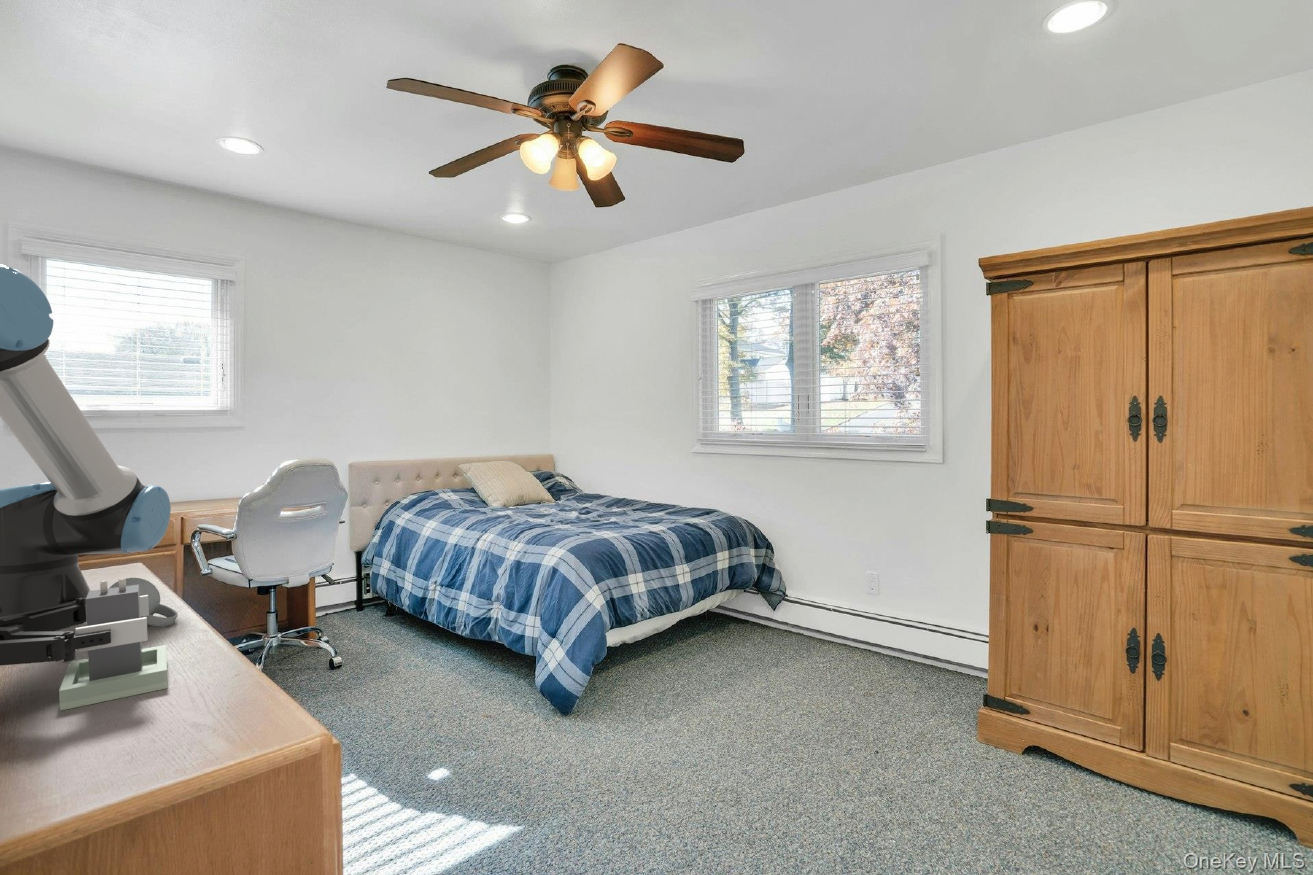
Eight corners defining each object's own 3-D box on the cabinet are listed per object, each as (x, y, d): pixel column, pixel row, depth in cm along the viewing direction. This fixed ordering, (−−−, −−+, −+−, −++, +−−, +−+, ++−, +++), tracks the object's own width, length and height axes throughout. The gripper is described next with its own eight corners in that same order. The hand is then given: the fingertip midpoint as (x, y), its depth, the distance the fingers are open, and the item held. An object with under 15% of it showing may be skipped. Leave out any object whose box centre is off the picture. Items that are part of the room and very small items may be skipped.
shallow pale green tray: (71, 679, 86) (70, 661, 86) (166, 661, 92) (166, 644, 92) (60, 710, 77) (59, 690, 77) (167, 688, 83) (166, 669, 83)
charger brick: (93, 676, 85) (88, 579, 85) (142, 667, 88) (138, 573, 88) (89, 688, 81) (85, 587, 81) (141, 678, 84) (137, 580, 84)
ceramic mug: (87, 640, 103) (86, 590, 102) (105, 625, 110) (104, 579, 110) (171, 631, 107) (170, 583, 107) (182, 617, 114) (181, 573, 114)
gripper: (-63, 656, 84) (150, 622, 96) (-132, 727, 64) (147, 672, 76) (-66, 597, 83) (147, 570, 96) (-136, 649, 63) (144, 607, 76)
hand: (148, 615), depth 86 cm, fingers open, 13 cm apart
